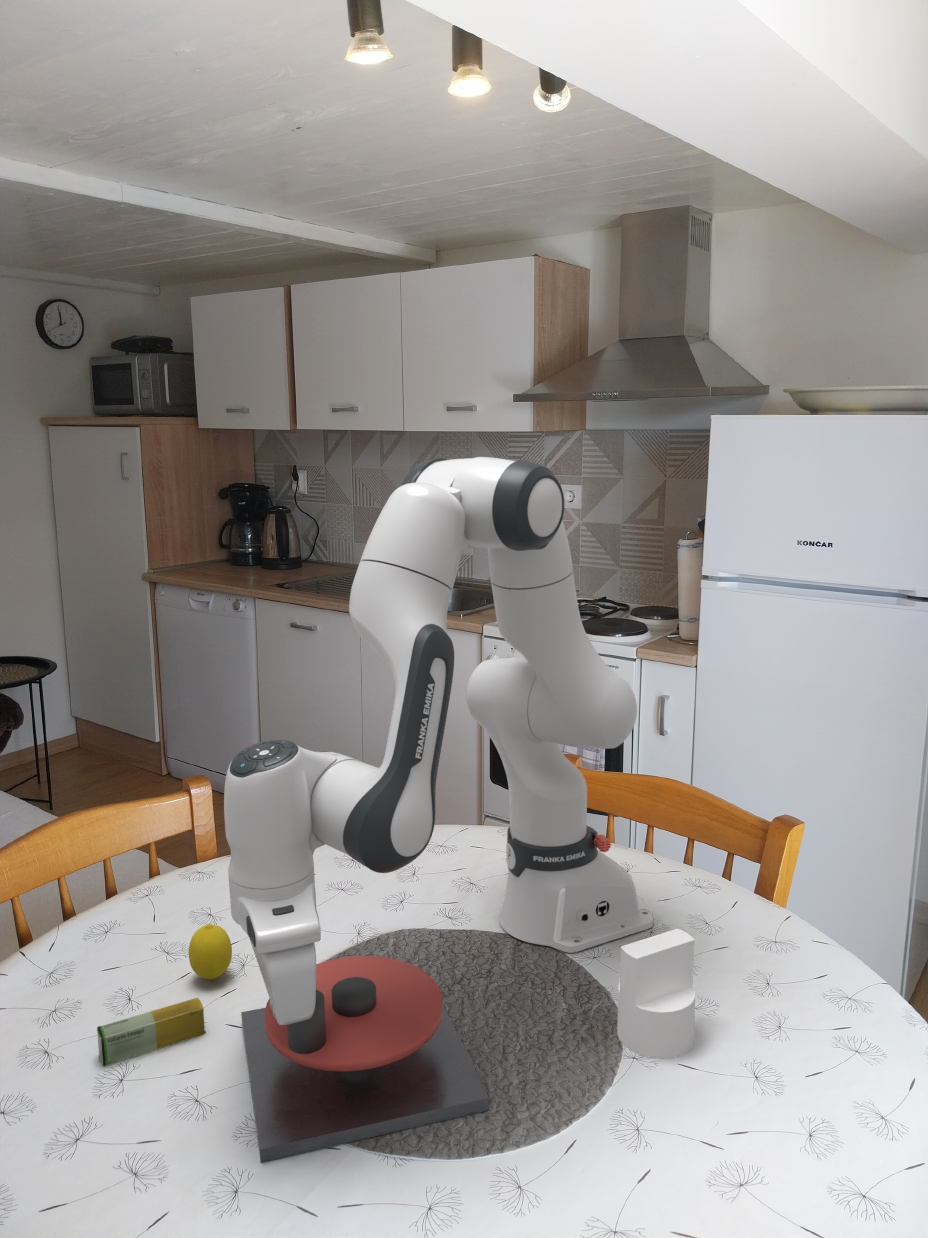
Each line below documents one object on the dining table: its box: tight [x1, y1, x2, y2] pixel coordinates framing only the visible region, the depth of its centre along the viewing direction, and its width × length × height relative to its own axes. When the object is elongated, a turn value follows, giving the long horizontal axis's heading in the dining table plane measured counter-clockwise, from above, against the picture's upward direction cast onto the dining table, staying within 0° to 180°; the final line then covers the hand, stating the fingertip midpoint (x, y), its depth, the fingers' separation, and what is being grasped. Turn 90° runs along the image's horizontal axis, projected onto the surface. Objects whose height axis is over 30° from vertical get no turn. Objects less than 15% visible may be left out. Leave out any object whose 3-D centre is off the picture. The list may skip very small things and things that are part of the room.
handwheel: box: [264, 955, 443, 1071], centre depth 108 cm, size 20×20×6 cm
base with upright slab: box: [616, 928, 696, 1060], centre depth 113 cm, size 9×9×12 cm
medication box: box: [96, 997, 206, 1067], centre depth 113 cm, size 12×3×4 cm, turn 120°
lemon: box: [188, 923, 233, 981], centre depth 126 cm, size 6×6×8 cm
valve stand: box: [240, 1002, 490, 1163], centre depth 109 cm, size 24×24×6 cm
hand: (280, 1012), depth 104 cm, fingers closed
